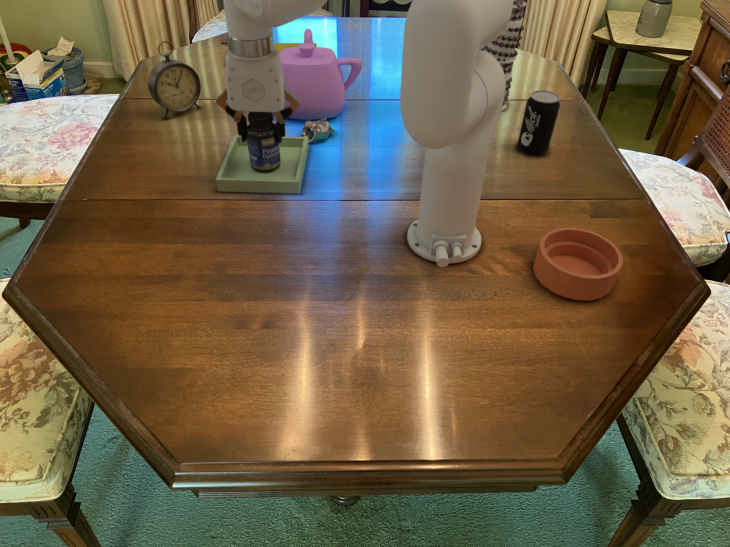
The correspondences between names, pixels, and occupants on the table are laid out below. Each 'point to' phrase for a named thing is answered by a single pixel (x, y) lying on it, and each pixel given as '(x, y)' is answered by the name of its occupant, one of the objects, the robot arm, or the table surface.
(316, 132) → the ornament
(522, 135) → the beverage can
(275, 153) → the pill bottle
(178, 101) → the alarm clock
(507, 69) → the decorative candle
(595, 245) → the bowl
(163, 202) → the table surface
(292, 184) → the tray
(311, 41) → the teapot
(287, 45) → the flat olive board
